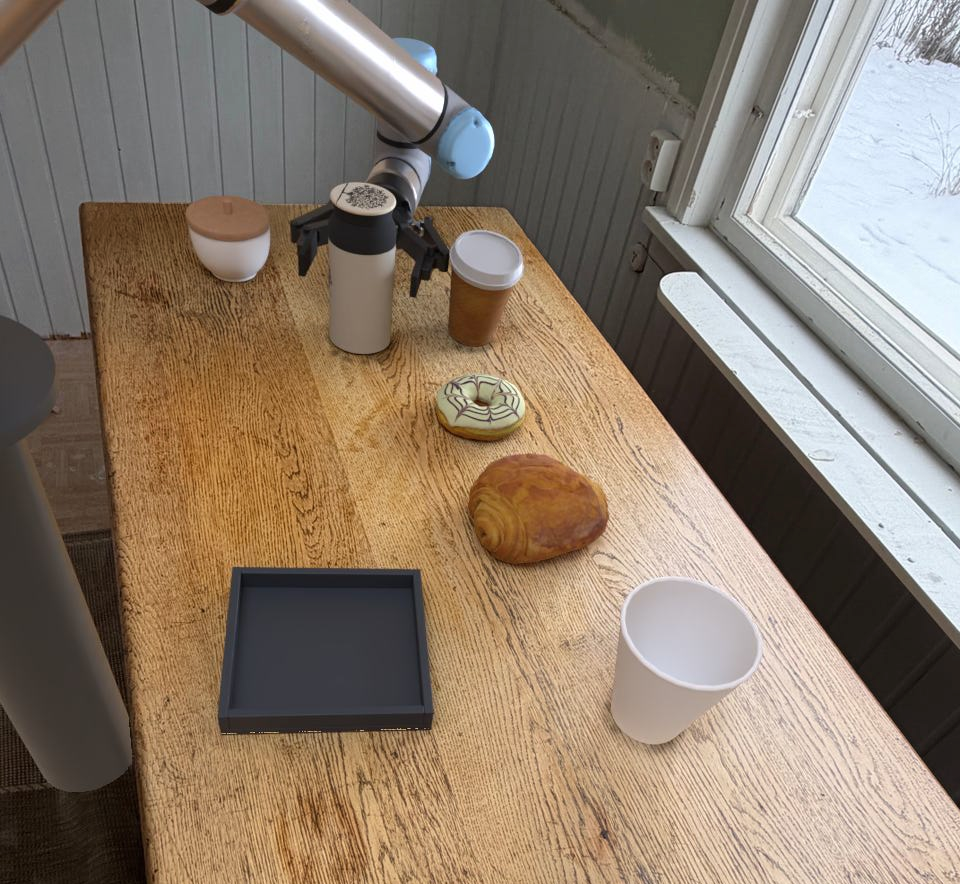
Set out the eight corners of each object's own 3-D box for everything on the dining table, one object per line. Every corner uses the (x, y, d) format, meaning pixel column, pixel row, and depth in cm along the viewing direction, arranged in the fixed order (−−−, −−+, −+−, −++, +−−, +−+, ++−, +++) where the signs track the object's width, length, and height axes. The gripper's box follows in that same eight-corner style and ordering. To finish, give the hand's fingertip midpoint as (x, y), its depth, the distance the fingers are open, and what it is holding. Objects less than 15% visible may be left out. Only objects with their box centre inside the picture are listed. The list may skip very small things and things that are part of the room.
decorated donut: (427, 394, 100) (430, 367, 97) (509, 393, 103) (514, 367, 100) (443, 447, 94) (446, 421, 91) (530, 444, 97) (536, 418, 94)
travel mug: (398, 332, 108) (407, 192, 94) (377, 362, 103) (384, 219, 89) (343, 316, 109) (343, 174, 95) (319, 345, 104) (316, 200, 90)
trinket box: (177, 265, 111) (166, 194, 103) (240, 244, 117) (234, 175, 109) (227, 299, 107) (219, 228, 100) (289, 276, 113) (286, 207, 106)
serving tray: (221, 735, 67) (217, 717, 65) (235, 586, 77) (232, 566, 75) (430, 730, 70) (433, 712, 68) (418, 587, 80) (420, 568, 78)
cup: (568, 739, 72) (604, 655, 62) (601, 645, 79) (638, 557, 69) (696, 789, 70) (753, 711, 61) (718, 688, 78) (772, 604, 68)
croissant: (615, 565, 89) (645, 511, 83) (495, 586, 82) (520, 528, 76) (553, 479, 96) (577, 424, 90) (438, 491, 89) (456, 432, 83)
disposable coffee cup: (518, 337, 111) (541, 260, 101) (471, 364, 107) (490, 287, 96) (469, 298, 113) (487, 218, 103) (421, 323, 109) (435, 242, 98)
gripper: (475, 245, 113) (456, 324, 100) (299, 211, 112) (256, 286, 99) (482, 190, 108) (463, 265, 94) (297, 153, 107) (251, 224, 93)
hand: (357, 276), depth 97 cm, fingers open, 13 cm apart
